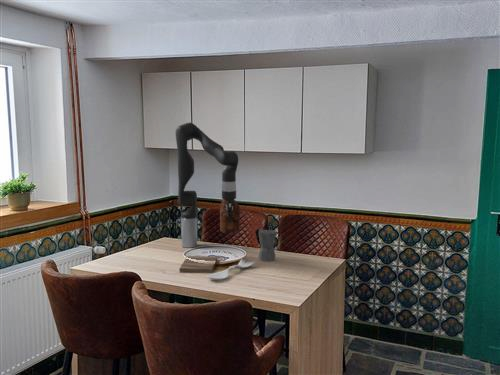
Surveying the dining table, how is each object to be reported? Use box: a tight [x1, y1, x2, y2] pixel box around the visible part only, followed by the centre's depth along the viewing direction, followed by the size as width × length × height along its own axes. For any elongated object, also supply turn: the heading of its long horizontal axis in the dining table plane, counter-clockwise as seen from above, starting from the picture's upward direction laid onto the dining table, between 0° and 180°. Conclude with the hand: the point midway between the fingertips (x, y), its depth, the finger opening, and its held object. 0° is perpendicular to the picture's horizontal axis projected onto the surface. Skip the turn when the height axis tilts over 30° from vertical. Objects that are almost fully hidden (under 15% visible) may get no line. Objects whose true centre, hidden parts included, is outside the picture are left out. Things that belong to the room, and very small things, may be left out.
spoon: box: [207, 258, 257, 281], centre depth 238 cm, size 9×32×4 cm, turn 146°
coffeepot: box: [254, 226, 278, 262], centre depth 261 cm, size 15×9×18 cm, turn 44°
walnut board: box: [179, 255, 218, 274], centre depth 249 cm, size 22×16×2 cm
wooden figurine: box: [219, 199, 241, 234], centre depth 256 cm, size 12×6×18 cm, turn 73°
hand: (229, 220), depth 256 cm, fingers closed on wooden figurine, 7 cm apart
